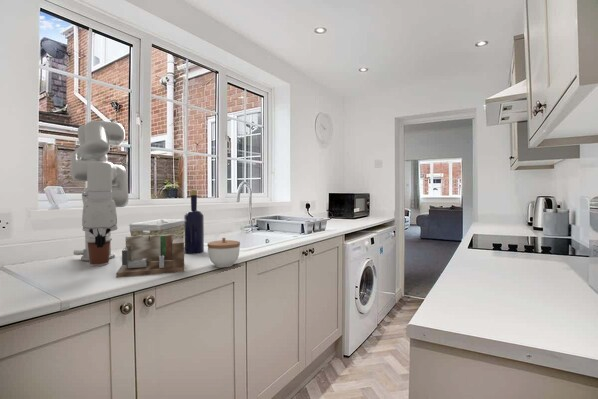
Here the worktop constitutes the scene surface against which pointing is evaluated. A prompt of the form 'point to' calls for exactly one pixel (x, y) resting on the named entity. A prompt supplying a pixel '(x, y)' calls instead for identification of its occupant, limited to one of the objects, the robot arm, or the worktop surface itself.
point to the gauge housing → (155, 254)
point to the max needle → (161, 259)
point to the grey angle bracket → (132, 262)
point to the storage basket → (158, 228)
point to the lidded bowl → (223, 252)
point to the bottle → (194, 228)
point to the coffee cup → (98, 251)
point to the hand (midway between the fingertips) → (100, 246)
